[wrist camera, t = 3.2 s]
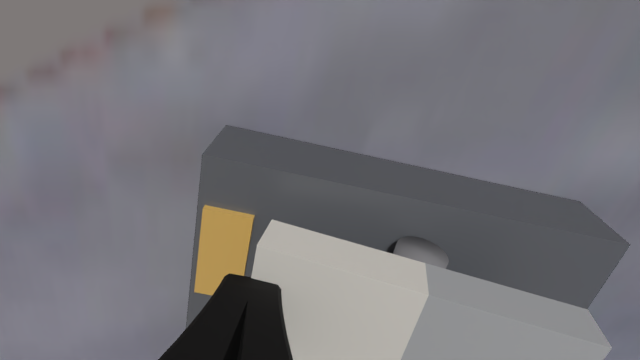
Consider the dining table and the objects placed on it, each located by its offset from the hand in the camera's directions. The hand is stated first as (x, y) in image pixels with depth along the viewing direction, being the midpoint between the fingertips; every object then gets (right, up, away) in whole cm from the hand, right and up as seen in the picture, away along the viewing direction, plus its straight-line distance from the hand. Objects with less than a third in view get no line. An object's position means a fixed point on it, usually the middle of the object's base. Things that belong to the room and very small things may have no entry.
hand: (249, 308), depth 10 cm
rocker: (+4, 0, +2) cm, 5 cm away
